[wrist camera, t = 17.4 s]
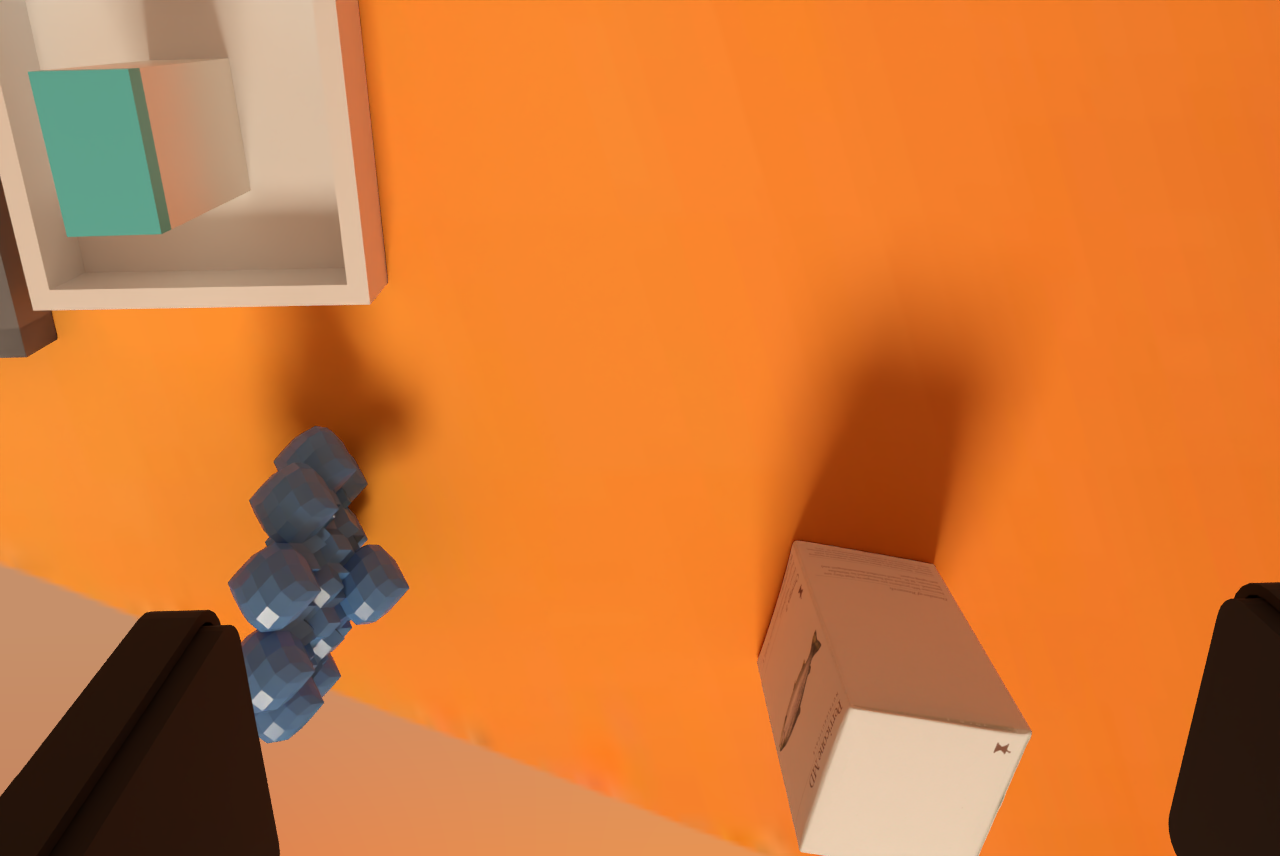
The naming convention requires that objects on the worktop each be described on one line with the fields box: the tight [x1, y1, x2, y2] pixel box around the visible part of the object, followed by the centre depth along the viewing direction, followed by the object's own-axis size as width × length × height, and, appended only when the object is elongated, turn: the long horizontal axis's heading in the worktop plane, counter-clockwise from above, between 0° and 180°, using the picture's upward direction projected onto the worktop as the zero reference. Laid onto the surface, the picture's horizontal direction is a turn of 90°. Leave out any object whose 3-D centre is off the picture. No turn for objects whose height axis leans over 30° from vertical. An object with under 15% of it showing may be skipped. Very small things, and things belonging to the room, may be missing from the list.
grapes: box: [228, 426, 409, 743], centre depth 41 cm, size 12×7×12 cm, turn 173°
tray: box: [0, 0, 388, 311], centre depth 38 cm, size 13×13×4 cm
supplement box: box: [757, 541, 1032, 856], centre depth 44 cm, size 7×7×13 cm
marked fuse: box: [28, 58, 251, 237], centre depth 35 cm, size 5×3×9 cm, turn 1°
